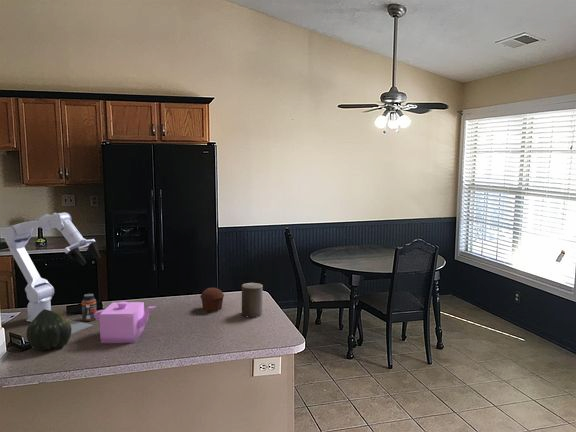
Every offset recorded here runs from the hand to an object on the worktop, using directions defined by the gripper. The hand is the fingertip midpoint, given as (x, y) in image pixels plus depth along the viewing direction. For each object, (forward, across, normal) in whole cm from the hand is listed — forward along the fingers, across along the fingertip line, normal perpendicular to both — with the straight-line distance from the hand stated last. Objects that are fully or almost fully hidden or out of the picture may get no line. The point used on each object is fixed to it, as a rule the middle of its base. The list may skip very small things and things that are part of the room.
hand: (91, 261), depth 188 cm
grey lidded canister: (+59, +40, -18) cm, 74 cm away
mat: (+14, -8, +27) cm, 31 cm away
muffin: (+45, +39, -2) cm, 60 cm away
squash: (+20, -24, +18) cm, 36 cm away
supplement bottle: (+15, +4, +27) cm, 32 cm away
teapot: (+34, -4, +5) cm, 35 cm away
